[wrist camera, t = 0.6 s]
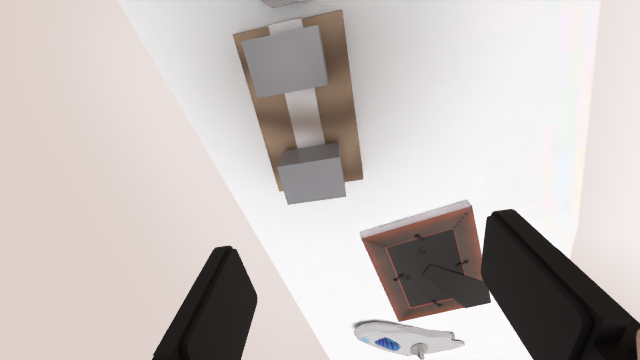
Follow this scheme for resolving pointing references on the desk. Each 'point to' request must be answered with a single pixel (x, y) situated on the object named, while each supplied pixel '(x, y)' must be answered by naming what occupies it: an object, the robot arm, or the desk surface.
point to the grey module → (279, 2)
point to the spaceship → (405, 338)
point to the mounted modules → (287, 76)
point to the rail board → (310, 100)
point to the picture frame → (429, 261)
